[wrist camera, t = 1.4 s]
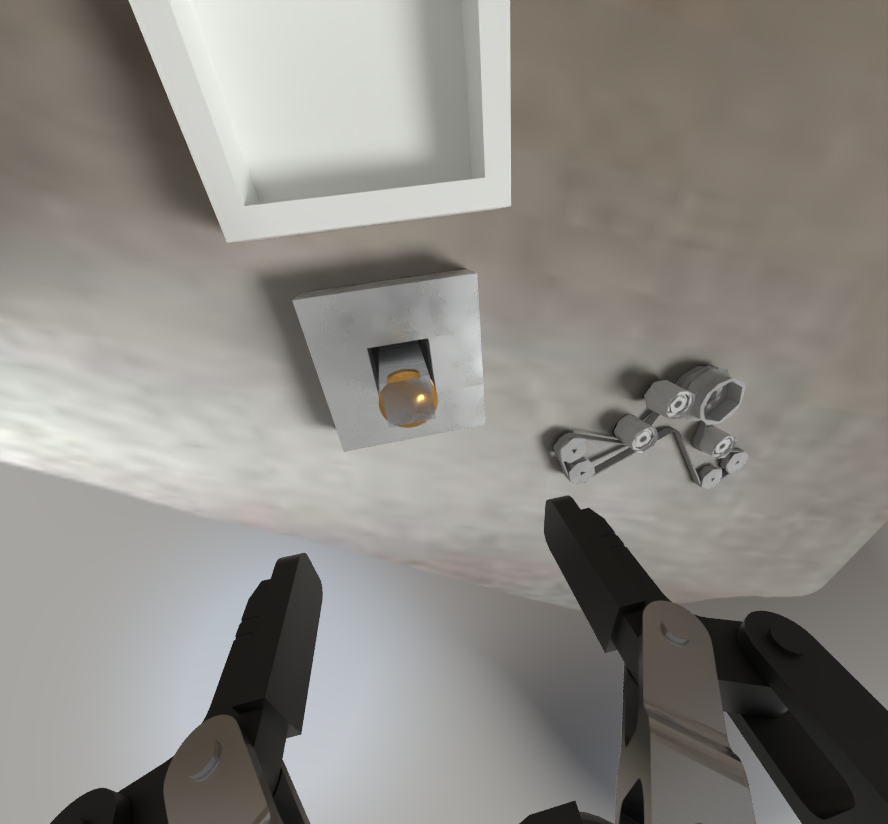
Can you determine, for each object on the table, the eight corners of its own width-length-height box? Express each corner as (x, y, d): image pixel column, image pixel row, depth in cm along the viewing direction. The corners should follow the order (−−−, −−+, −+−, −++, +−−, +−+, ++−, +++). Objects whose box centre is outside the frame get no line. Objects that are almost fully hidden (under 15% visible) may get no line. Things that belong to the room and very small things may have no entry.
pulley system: (589, 338, 29) (536, 471, 35) (625, 352, 25) (559, 500, 31) (780, 376, 37) (710, 480, 43) (831, 392, 33) (747, 504, 39)
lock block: (302, 292, 23) (292, 300, 20) (466, 268, 24) (477, 273, 21) (347, 431, 29) (343, 451, 26) (476, 407, 30) (485, 424, 27)
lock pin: (374, 340, 25) (372, 380, 18) (419, 333, 25) (434, 370, 19) (384, 381, 27) (385, 432, 20) (425, 374, 27) (441, 421, 20)
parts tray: (130, -91, 14) (48, -197, 11) (480, -103, 16) (509, -198, 12) (252, 240, 21) (226, 242, 17) (490, 210, 22) (511, 206, 19)
